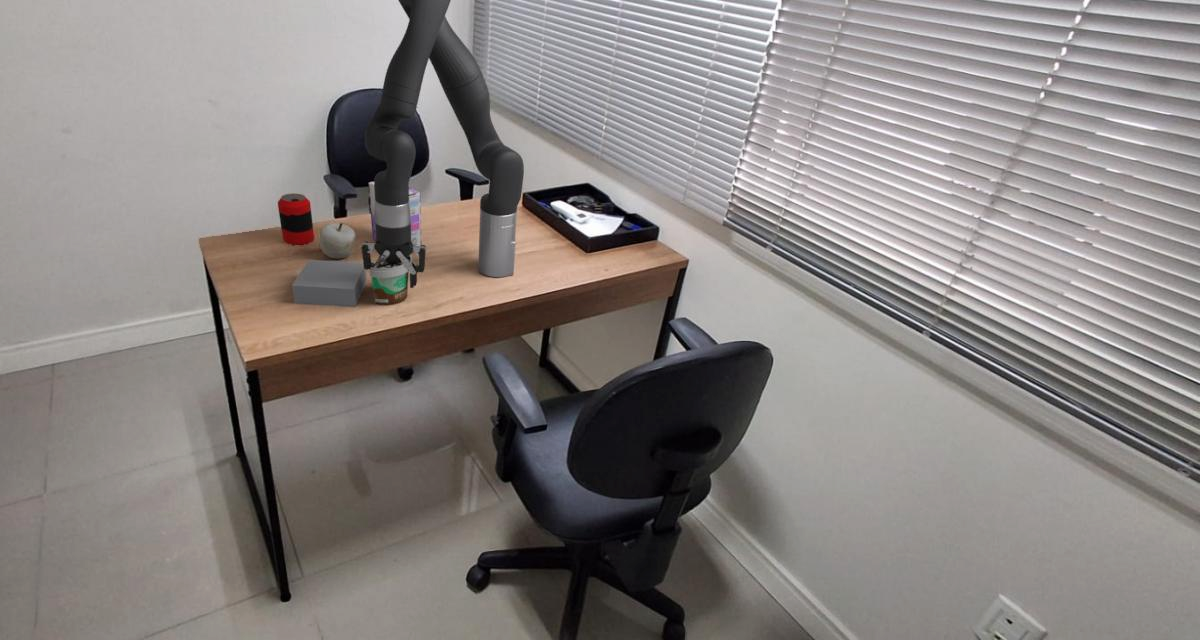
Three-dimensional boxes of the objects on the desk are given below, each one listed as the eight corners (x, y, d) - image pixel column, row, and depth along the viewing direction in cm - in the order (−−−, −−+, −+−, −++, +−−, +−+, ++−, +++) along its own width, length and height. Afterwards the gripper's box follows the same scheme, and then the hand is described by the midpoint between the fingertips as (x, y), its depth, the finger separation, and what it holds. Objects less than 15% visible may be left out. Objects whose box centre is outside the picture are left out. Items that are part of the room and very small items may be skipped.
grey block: (367, 281, 151) (365, 263, 148) (355, 308, 140) (353, 288, 137) (310, 278, 149) (308, 259, 146) (294, 305, 138) (291, 285, 135)
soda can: (287, 247, 160) (280, 204, 153) (280, 236, 164) (273, 193, 158) (317, 243, 164) (312, 201, 158) (310, 232, 169) (305, 190, 163)
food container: (396, 313, 140) (395, 274, 135) (371, 307, 140) (369, 268, 135) (421, 289, 150) (420, 252, 145) (398, 283, 151) (396, 247, 146)
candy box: (422, 248, 169) (421, 191, 161) (406, 255, 165) (403, 196, 156) (388, 233, 175) (385, 177, 166) (371, 238, 170) (367, 181, 162)
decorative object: (320, 250, 160) (316, 215, 155) (355, 248, 164) (353, 213, 159) (321, 266, 154) (317, 229, 149) (359, 263, 157) (356, 227, 152)
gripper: (428, 215, 140) (428, 279, 148) (361, 210, 137) (366, 276, 145) (425, 228, 133) (425, 295, 142) (355, 224, 131) (360, 292, 139)
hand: (395, 285), depth 143 cm, fingers closed on food container, 7 cm apart
